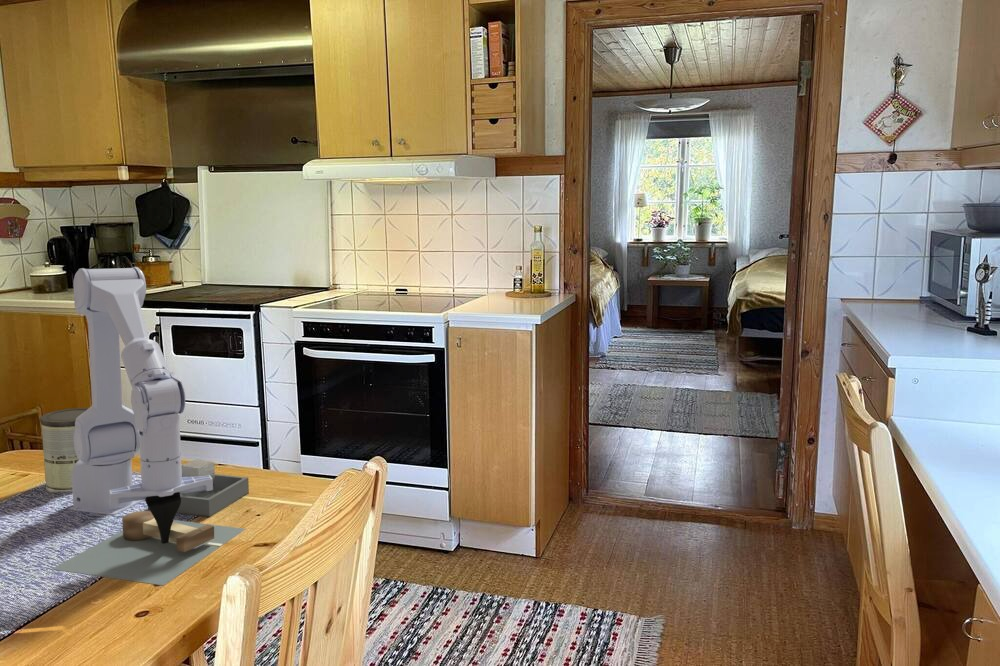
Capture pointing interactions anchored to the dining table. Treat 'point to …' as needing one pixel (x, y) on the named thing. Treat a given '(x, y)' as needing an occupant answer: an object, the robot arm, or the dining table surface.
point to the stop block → (196, 470)
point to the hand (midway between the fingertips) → (164, 541)
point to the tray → (216, 497)
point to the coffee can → (59, 448)
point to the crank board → (144, 557)
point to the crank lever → (185, 536)
